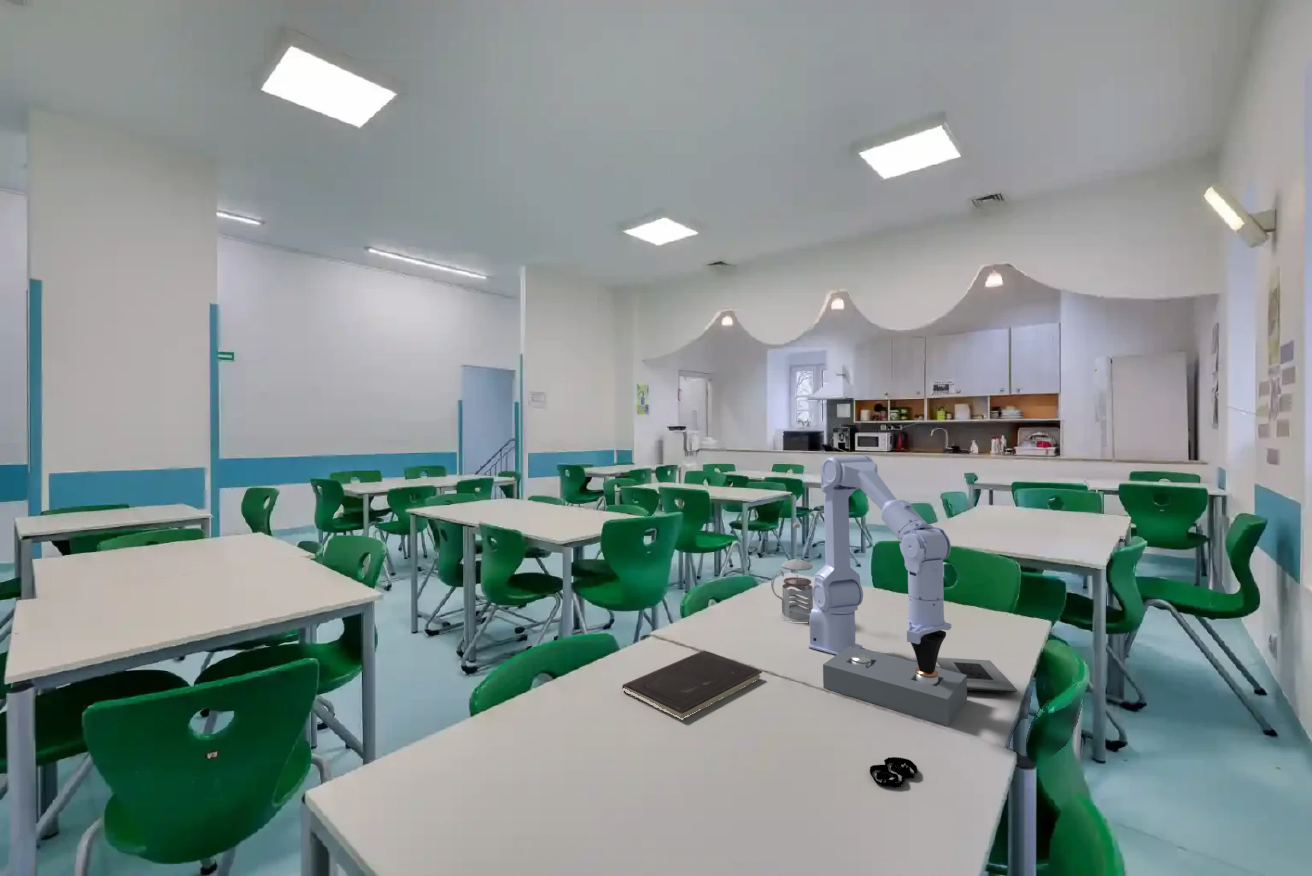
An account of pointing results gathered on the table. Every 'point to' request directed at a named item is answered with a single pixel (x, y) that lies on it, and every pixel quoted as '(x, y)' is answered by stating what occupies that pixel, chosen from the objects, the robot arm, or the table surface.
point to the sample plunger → (861, 660)
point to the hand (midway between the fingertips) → (926, 671)
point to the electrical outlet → (978, 674)
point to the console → (896, 685)
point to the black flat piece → (901, 771)
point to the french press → (793, 609)
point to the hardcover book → (693, 682)
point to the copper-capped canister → (927, 677)
